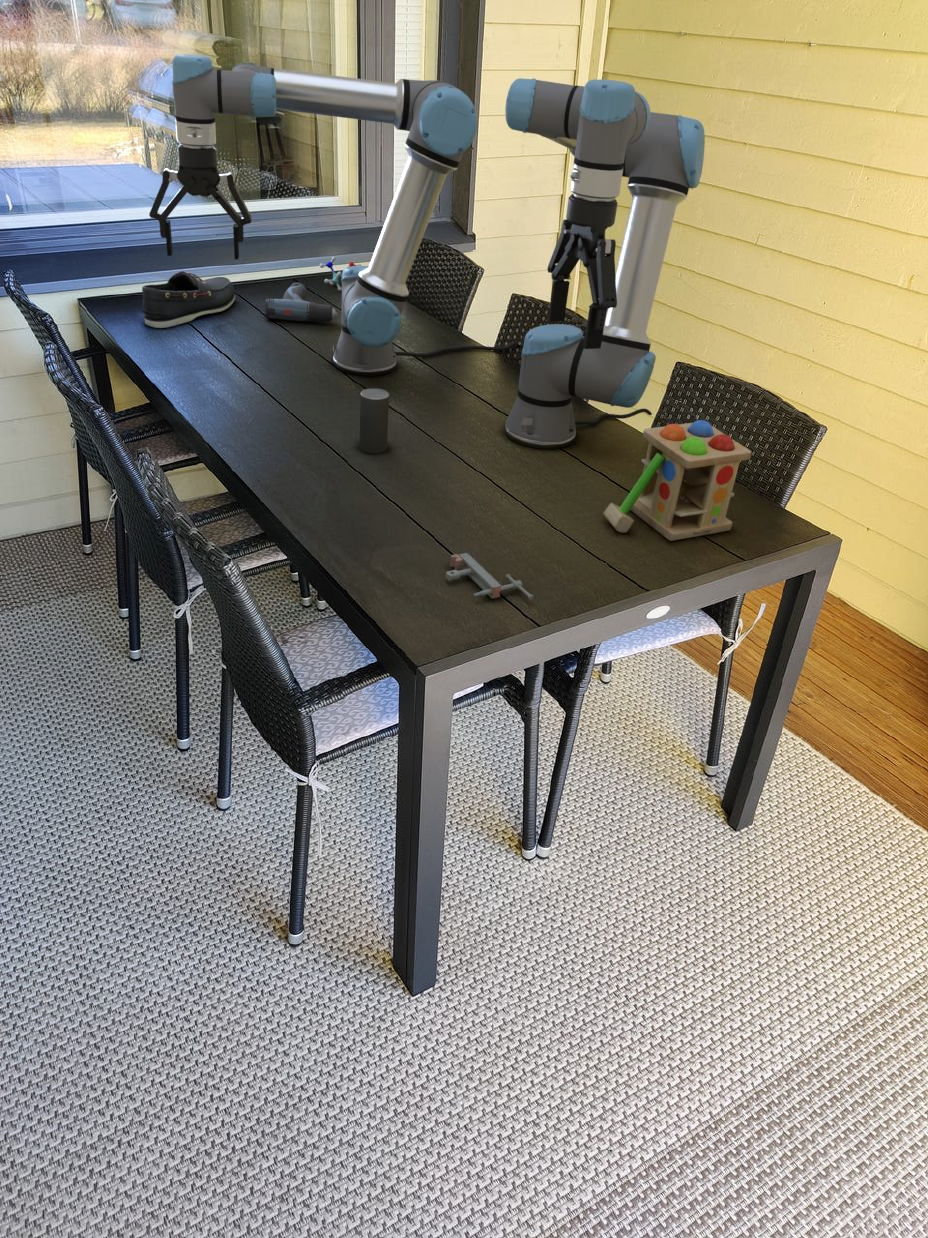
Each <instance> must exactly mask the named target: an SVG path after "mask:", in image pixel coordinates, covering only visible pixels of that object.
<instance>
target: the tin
mask: <svg viewBox="0 0 928 1238" xmlns="http://www.w3.org/2000/svg"><path fill="white" fill-rule="evenodd" d="M359 400H360V404H359V441H358V442H359V443H358V444H359V445H358V446H359V450H360V451H362V452H363V453H367V454H375V455H377V454H381V453H385V452H386V451H387V450H388V435H389V433H388V432H389V409H390V393H389V392H388V391H387V390H385V389H381V388H365V389H362V390H361V392H360V399H359Z"/></svg>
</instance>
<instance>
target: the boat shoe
mask: <svg viewBox="0 0 928 1238" xmlns="http://www.w3.org/2000/svg"><path fill="white" fill-rule="evenodd" d="M141 292H142V299H143V300H142V307H143V308H141V312H142V313H143V314H144V324H145V325H146V326H148V327H151V328H157V329H165V328H171V327H174V326H178V325H181V324H185V323H189V322H191V321H193V320H195V318H197V317H200V316H204V315H208V314H214V313H219V312H223V311H225V310H227V309H229V308H230V307H231V306H232V305H233V303H234V302H235V300H236V292H235V290H234V286H233V283H232V282H231V280H230V279H229V278H227V277H225V276H216V277H211V278H206V279H202V278H201V277H200V276H198V275H196V274H195V273H191V272H187V271H183V270H182V271H179V272H176V273H174V274H173V275H172V276H171V277H170V278H169V279H168V280H167V282H166V283H158V284H145V285H143V286H142V287H141Z"/></svg>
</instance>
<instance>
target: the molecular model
mask: <svg viewBox="0 0 928 1238" xmlns="http://www.w3.org/2000/svg"><path fill="white" fill-rule="evenodd" d="M335 261H336V256H332V257H331V260H330V261H328V262H327V263H322V262H321V263H319V267H320V268H321V269H323V268H325V267H327V268H328V269H330V270H331V272H332V279H328V278H325V279H324V284H328V283H329V284H330V286H334V285H336V287H337V291H338V292H342V286H340V284H339V281H340V280H339V278H342V272H341V271H338V272H337V273H336V272H335V270H334V268H333V267H334V264H333V263H334V262H335ZM350 266H362V264H360V263H358V264H355V263H354V262H349V263H348V267H350Z"/></svg>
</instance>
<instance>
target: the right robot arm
mask: <svg viewBox="0 0 928 1238" xmlns="http://www.w3.org/2000/svg"><path fill="white" fill-rule="evenodd" d="M635 88H636V87H635V86H634V85H633V84H631V83H629V82H626V81H620V80H613V79H594V78H593V79H590V80H588V81H587V82H586V83H585V84H584V85H578V84H577V85H573V84H572V85H571V84H566V83H560V82H555V81H554V82H553V81H547V80H542V79H541V80H540V79H536V78H522V77H521V78H516V79H515V80H513V82H511V85H510V86H509V88H508V91H507V94H506V95H507V96H506V100H505V106H504V107H505V109H504V112H505V113H504V116H505V121H506V124H507V127H508V128H509V129H510V130H512V131H513V130H514V131H518V132H522V134H527V133H528V134H533V135H534V134H535V135H538V136H541V137H542V138H546V139H547V140H550V141H552V142H554V143H556V144H559V145H560V146H562V147H563V146H564V147H565V148H567V149H568V150H569V152H570V153H571V154H572V156H573V164H572V165H573V166H572V172H570V174H569V175H570V179H571V181H570V186H569V187H570V188H569V189H570V191H571V193H572V194H570V196H569V197H568V201H567V207H566V208H567V209H566V215H565V219H563V220H562V224H561V229H560V233H559V235H558V238H557V241H556V244H555V246H554V249H553V251H552V254H551V257H550V260H549V262H548V265H547V269H546V270H547V273H551V277H550V278H551V280H552V286H551V293H550V302H549V308H548V309H549V310H548V316H547V321H548V322H565V318H566V310H567V305H568V304H567V303H568V297H569V289H570V284H571V283H570V281H569V280H572V277H571V274H572V272H573V271H574V269H575V267H576V266H577V264H578V263H579V261H580V262H582V265H583V267H584V268H585V269H586V273H587V279H588V284H589V290H590V296H591V301H592V302H591V304H590V305H589V306H588V308H589V309H588V314H587V321H586V328H585V334H584V333H583V330H582V329H581V328H580V327H577V326H575V325H571V324H561V323H553V324H544V325H539V326H536V327H534V328H531V329H530V330H529V331H528V332H527V333H526V334H525V336H524V340H523V341H524V342H523V346H522V350H521V361H520V371H519V380H518V389H517V395H516V399H515V401H514V403H513V406H512V408H511V410H510V412H509V414H508V416H507V418H506V421H505V425H504V433H505V435H506V436H507V437H508V439H510V440H511V441H513V442H514V443H517V444H519V445H521V446H526V447H530V448H534V449H541V450H542V449H543V450H554V449H555V450H556V449H562V448H566V447H568V446H570V445H572V444H573V443H574V442H575V440H576V433H577V427H576V426H580V425H585V426H586V425H589V426H590V425H596V424H598V422H600V420H602V419H604V418H607V419H608V418H610V419H619V420H620V419H629V418H631V417H634V416H636V415H639V414H641V413H645V414H647V415H648V416H652V415H653V413H652V412H651V411H650V409H648V408H639V409H636V410H633V411H631V412H629V413H625V414H615V413H601V414H599V415H597V416H596V418H595V419H594V420H575V417H574V410H573V399H574V398H573V397H575V398H579V399H584V400H588V401H592V402H597V403H602V404H604V405H605V404H606V405H610V407H621V408H628V409H631V408H633V407H635V406H637V404H638V403H639V402H640V400H641V399H642V398H643V395H644V393H645V392H646V389H647V387H648V385H649V382H650V379H651V377H652V375H653V371H654V367H655V363H656V357H657V356H656V353H654V352H653V351H650V350H651V345H652V341H651V340H650V338H649V336H648V334H647V330H648V326H649V322H650V317H651V313H652V309H653V304H654V301H655V297H656V292H657V288H658V283H659V279H660V276H661V272H662V267H663V263H664V259H665V255H666V252H667V247H668V243H669V239H670V234H671V230H672V226H673V222H674V218H675V213H676V209H677V207H678V206H679V204H681V203H682V202H684V201H685V200H687V198H688V194H689V190H690V189H691V190H693V189H697V188H698V186H699V185H700V180H701V177H702V173H703V167H704V159H705V144H706V143H705V141H706V137H705V135H706V134H705V128H704V125H703V123H702V121H700V120H699V119H696V118H692V117H687V116H684V115H683V116H682V115H681V114H678V115H677V114H670V113H669V114H668V113H662V112H653V111H651V108H650V104H649V102H648V100H647V98H645V96H644V95H643V94H642V93H640V92H639V91H636V89H635ZM622 178H628V181H627V186H626V188H627V189H628V191H629V194H630V195H631V197H632V200H631V203H630V208H629V212H628V216H627V222H626V225H625V229H624V234H623V239H622V242H621V243H622V244H621V247H620V252H619V255H618V259H617V265H616V263H615V262H616V261H615V259H616V257H615V255H616V244H617V241H616V240H615V238H613V239H607V238H606V230H607V229H608V228H611V227H613V226H614V225H615V222H616V216H617V215H616V214H617V209H618V201H617V199H616V198H618V197H619V196H620V193H621V187H622V181H623V180H622ZM583 337H584V338H583Z"/></svg>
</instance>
